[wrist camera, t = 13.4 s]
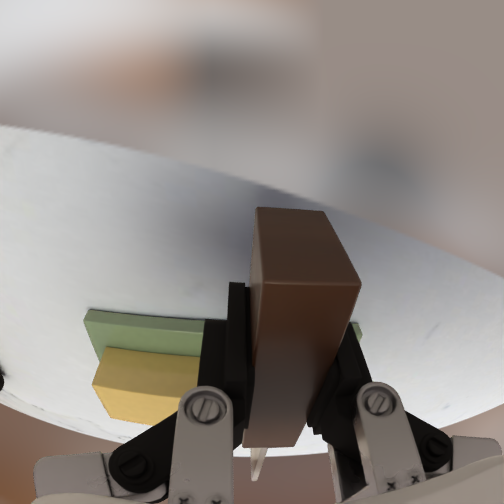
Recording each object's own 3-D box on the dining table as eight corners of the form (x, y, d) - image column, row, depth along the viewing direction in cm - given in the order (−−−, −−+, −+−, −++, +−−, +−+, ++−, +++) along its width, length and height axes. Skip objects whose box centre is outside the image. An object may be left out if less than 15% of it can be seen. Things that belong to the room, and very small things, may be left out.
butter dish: (88, 309, 16) (63, 359, 13) (358, 322, 17) (378, 375, 14) (117, 385, 20) (105, 428, 17) (326, 395, 21) (335, 440, 18)
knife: (255, 205, 9) (261, 280, 6) (324, 210, 9) (363, 283, 6) (236, 438, 16) (236, 488, 13) (268, 438, 16) (271, 487, 13)
